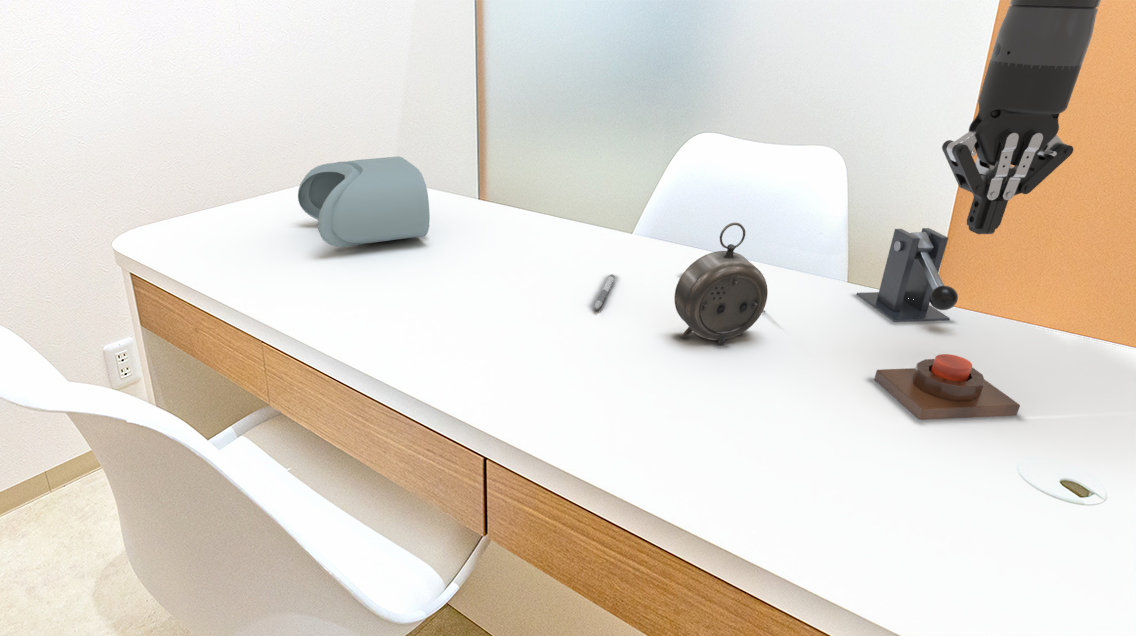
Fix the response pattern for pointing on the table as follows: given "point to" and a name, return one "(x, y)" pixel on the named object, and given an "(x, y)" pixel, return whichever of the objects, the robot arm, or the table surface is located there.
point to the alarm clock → (721, 294)
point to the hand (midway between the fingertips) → (980, 232)
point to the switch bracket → (907, 280)
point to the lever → (934, 275)
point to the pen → (604, 292)
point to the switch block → (945, 394)
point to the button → (951, 367)
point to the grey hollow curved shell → (366, 201)
